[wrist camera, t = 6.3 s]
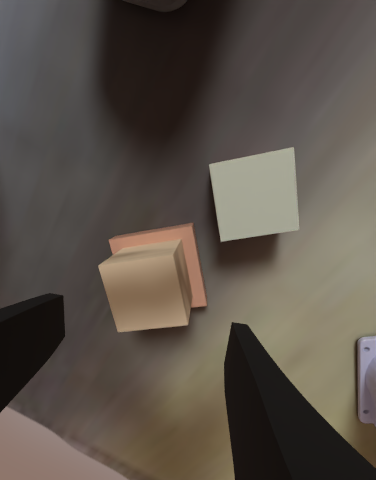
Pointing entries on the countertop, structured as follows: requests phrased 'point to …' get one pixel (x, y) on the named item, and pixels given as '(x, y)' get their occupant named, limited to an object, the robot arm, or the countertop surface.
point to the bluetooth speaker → (159, 4)
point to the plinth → (168, 234)
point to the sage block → (255, 195)
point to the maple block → (148, 286)
